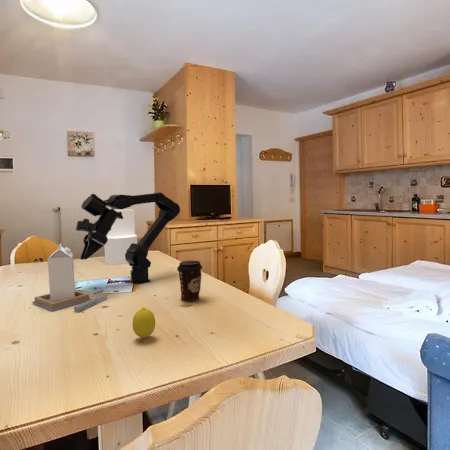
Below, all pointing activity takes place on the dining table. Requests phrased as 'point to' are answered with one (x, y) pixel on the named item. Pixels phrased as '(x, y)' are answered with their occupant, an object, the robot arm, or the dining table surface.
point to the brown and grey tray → (54, 306)
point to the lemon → (143, 323)
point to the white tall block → (120, 238)
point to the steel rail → (90, 303)
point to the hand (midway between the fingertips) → (82, 259)
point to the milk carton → (61, 275)
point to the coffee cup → (190, 280)
